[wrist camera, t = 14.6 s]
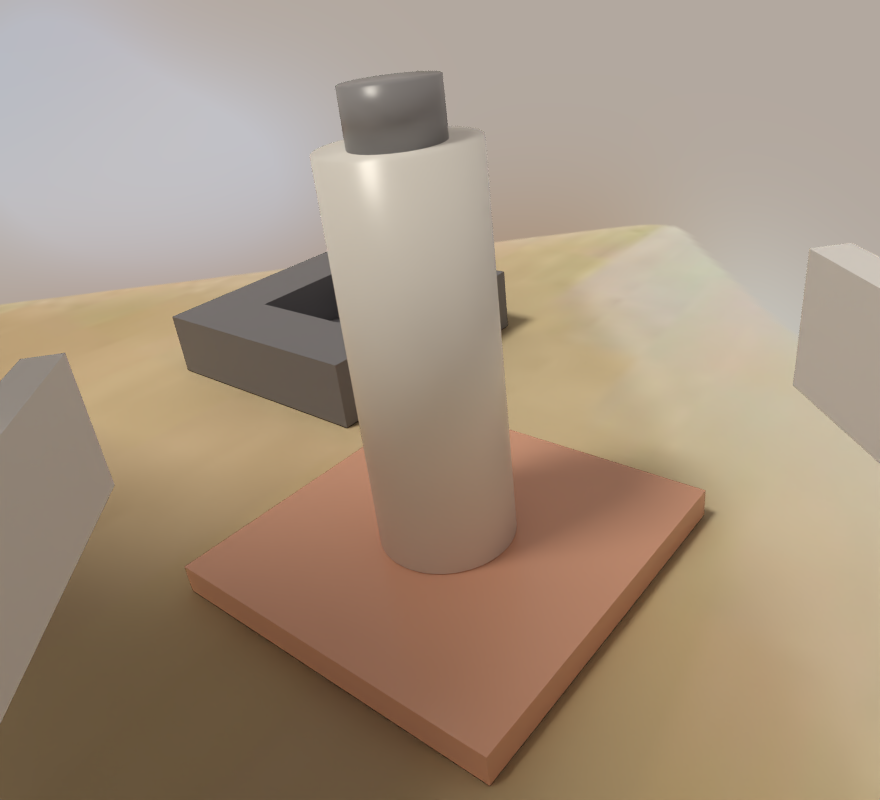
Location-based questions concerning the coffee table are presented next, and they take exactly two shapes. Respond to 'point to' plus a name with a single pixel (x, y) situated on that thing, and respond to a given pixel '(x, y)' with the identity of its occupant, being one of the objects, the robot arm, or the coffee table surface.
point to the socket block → (281, 340)
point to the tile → (455, 595)
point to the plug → (420, 319)
